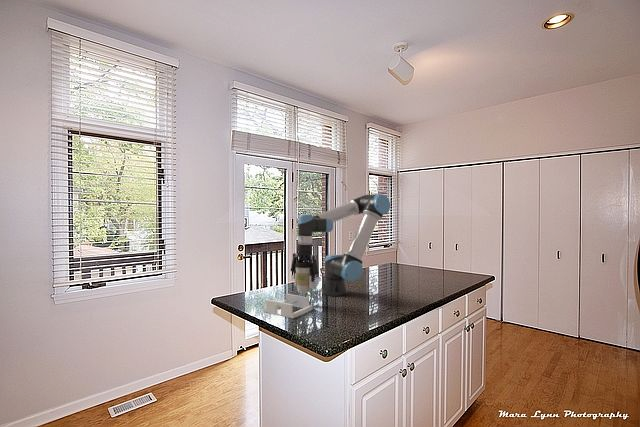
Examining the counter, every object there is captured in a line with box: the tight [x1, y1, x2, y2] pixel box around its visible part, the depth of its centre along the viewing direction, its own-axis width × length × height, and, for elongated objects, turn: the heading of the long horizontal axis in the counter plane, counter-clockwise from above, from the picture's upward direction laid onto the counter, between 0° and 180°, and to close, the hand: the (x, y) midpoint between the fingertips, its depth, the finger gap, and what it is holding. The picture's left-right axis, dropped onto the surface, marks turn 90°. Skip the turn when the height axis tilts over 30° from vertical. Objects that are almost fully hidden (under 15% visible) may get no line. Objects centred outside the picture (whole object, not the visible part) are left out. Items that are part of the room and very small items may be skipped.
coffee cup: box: [295, 261, 313, 294], centre depth 179 cm, size 10×10×15 cm
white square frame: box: [263, 299, 314, 319], centre depth 168 cm, size 17×17×6 cm
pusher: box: [277, 293, 310, 310], centre depth 168 cm, size 15×14×6 cm
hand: (303, 286), depth 179 cm, fingers closed on coffee cup, 9 cm apart
